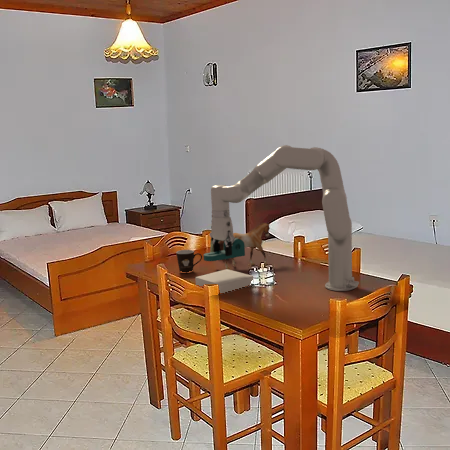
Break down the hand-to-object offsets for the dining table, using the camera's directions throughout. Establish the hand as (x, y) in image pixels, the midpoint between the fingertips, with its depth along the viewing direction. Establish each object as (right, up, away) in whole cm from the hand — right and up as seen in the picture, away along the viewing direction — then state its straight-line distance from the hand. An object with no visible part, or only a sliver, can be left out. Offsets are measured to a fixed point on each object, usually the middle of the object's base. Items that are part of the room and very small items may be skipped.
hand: (222, 253), depth 242 cm
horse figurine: (+9, -8, +36) cm, 38 cm away
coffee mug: (-16, -11, +28) cm, 34 cm away
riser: (+1, -14, +3) cm, 14 cm away
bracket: (0, -2, 0) cm, 2 cm away
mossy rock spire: (-3, -4, +58) cm, 58 cm away
